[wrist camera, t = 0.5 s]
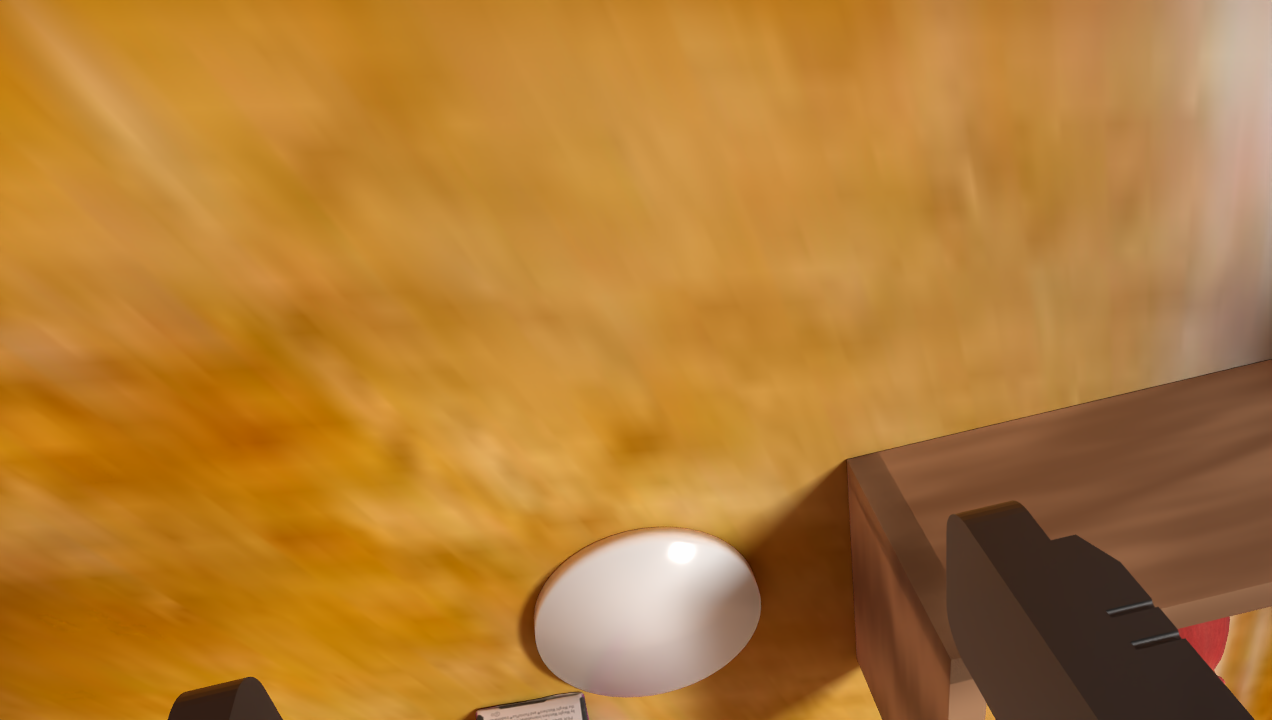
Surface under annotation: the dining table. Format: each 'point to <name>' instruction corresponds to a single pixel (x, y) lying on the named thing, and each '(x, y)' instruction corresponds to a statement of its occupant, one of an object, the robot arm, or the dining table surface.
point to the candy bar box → (540, 709)
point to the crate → (1066, 519)
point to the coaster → (646, 612)
